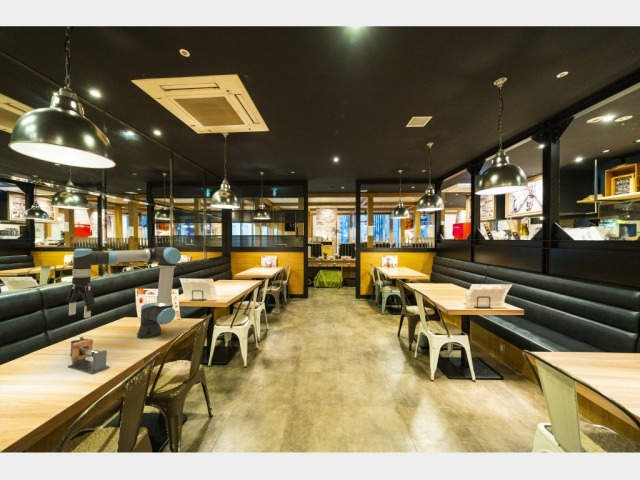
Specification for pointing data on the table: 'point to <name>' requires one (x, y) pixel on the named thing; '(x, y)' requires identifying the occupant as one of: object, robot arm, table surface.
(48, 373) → the table surface
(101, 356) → the pipe rail
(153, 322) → the robot arm
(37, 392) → the table surface
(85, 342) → the orange square ring
